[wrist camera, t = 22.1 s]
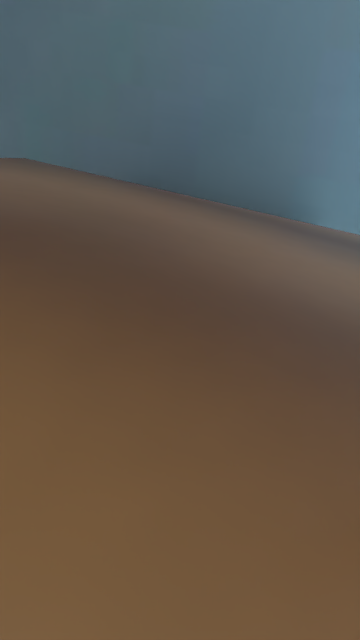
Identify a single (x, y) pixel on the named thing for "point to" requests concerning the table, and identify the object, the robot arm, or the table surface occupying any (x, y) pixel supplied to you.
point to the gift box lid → (174, 416)
